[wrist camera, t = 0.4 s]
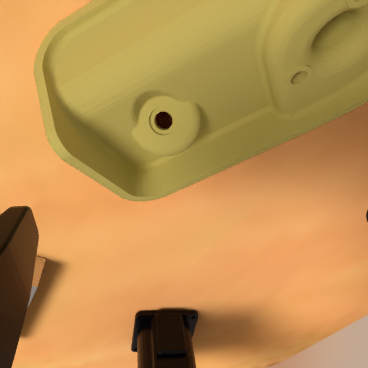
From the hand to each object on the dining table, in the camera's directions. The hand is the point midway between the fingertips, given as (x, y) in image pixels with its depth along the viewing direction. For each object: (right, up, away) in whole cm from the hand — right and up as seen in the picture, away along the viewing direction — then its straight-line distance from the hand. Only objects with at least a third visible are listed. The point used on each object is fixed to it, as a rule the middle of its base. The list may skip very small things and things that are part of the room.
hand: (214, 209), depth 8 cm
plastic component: (+1, +9, +13) cm, 15 cm away
